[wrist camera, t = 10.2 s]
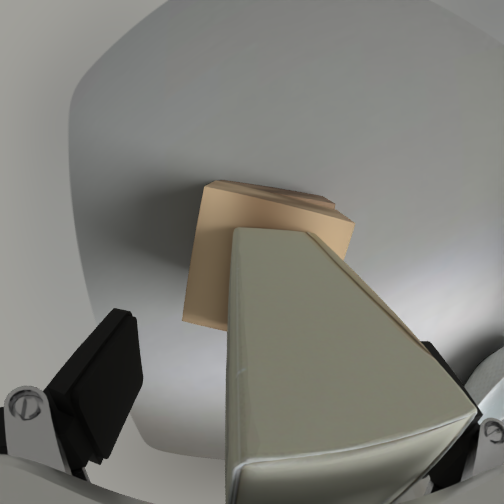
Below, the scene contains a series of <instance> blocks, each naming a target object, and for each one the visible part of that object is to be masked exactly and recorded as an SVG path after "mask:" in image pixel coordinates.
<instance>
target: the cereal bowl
mask: <svg viewBox="0 0 504 504" xmlns="http://www.w3.org/2000/svg"><path fill="white" fill-rule="evenodd" d="M464 387H465V389H466V390H467V392H468V393H469V394H470V396H471V397H472V399H473V400H474V402H475V403H476V405H477V406H478V408H479V409H480V411H481V412H482V414H483V416H482V417H481V418H480V420H479V421H478V423H479V425H480V424H481V423H482V422H483V420H484V419H487V418H496V419H498V420H500V421H501V420H502V419H504V347H502V348H501V349H499V350H498V351H496V352H495V353H493V354H491V355H490V356H488V357H487V358H486V359H484V360H483V361H482V362H481V363H480V364H479V365H478V367H477V368H476V369H475V370H474V372H473V373H472V374H471V376H470V378H469V380H468V382H467V383H466V384H465V386H464Z"/></svg>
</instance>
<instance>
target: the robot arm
mask: <svg viewBox="0 0 504 504" xmlns="http://www.w3.org/2000/svg"><path fill="white" fill-rule="evenodd" d="M420 342H421V343H422V344H423V345H424V346H425V347H426V349H427V350H428V351H429V352H430V353H431V354H432V356H433V357H434V358H435V359H436V360H437V362H438V363H439V364H440V365H441V366H442V367H443V368H444V369H445V370H446V372H447V373H448V374H449V375H450V376H451V378H452V379H453V380H454V381H455V382H456V383H457V385H458V386H459V387H460V388H461V389H462V390H463V392H464V393H465V394H466V396H467V397H468V398H469V400H470V401H471V402H472V403H473V405H474V406H475V407H476V408H477V415H476V416H475V417H474V419H473V420H472V421H471V423H470V424H469V425H468V427H467V428H466V429H465V431H464V432H463V434H462V435H461V436H460V437H459V438H458V439H457V440H456V442H455V443H454V444H453V445H452V446H451V447H450V449H449V450H448V451H447V452H446V453H445V454H444V455H443V457H442V458H441V459H440V460H439V461H438V462H437V463H436V465H435V466H433V467H432V468H431V469H430V470H429V471H428V472H427V473H426V475H425V476H423V477H422V479H421V480H420V481H419V482H417V483H416V484H415V485H414V486H413V487H412V488H411V489H410V490H409V491H408V492H407V493H405V494H404V495H403V496H402V497H401V498H400V499H398V500H397V501H396V502H394V504H504V424H503V423H502V422H501V421H500V420H498V419H496V418H487V419H484V420H483V422H482V423H481V424H480V425H479V423H478V421H479V420H480V418H481V417H482V416H483V414H482V412H481V411H480V409H479V408H478V406H477V405H476V403H475V402H474V400H473V399H472V397H471V396H470V394H469V393H468V392H467V390H466V389H465V387H464V386H463V385H462V383H461V382H460V380H459V379H458V378H457V376H456V375H455V374H454V372H453V371H452V370H451V368H450V367H449V365H448V364H447V363H446V362H445V360H444V359H443V358H442V356H441V355H440V354H439V352H438V351H437V350H436V349H435V347H434V346H433V345H432V343H430V342H428V341H420ZM142 383H143V372H142V365H141V357H140V348H139V339H138V328H137V319H136V317H133V316H132V313H131V312H130V311H126V310H121V309H117V308H114V309H113V310H112V311H111V312H110V313H109V314H108V315H107V316H106V317H105V318H104V320H103V321H102V322H101V323H100V324H99V325H98V326H97V327H96V329H95V330H94V331H93V332H92V333H91V334H90V335H89V337H88V338H87V339H86V340H85V341H84V342H83V343H82V344H81V346H80V347H79V348H78V349H77V350H76V351H75V352H74V354H73V355H72V356H71V357H70V359H69V360H68V361H67V362H66V363H65V365H64V366H63V367H62V368H61V369H60V371H59V372H58V373H57V374H56V376H55V377H54V378H53V379H52V381H51V382H50V383H49V385H48V386H47V387H46V388H45V389H44V391H42V390H40V389H38V388H37V387H33V386H21V387H18V388H16V389H14V390H12V391H11V392H10V393H9V394H8V395H7V397H6V399H5V403H4V407H0V504H153V503H149V502H146V501H142V500H138V499H135V498H131V497H128V496H125V495H122V494H119V493H116V492H113V491H110V490H108V489H104V488H102V487H99V486H97V485H94V484H92V483H91V482H90V480H89V477H88V475H87V473H86V470H85V467H86V465H87V463H88V461H92V462H94V463H97V464H99V465H101V463H102V460H103V458H104V459H108V458H109V456H110V454H111V452H112V450H113V447H114V445H115V443H116V441H117V438H118V436H119V434H120V432H121V429H122V427H123V425H124V423H125V421H126V418H127V416H128V414H129V412H130V410H131V408H132V406H133V403H134V401H135V399H136V397H137V395H138V393H139V391H140V389H141V387H142Z"/></svg>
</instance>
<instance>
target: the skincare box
mask: <svg viewBox="0 0 504 504" xmlns="http://www.w3.org/2000/svg"><path fill="white" fill-rule="evenodd" d="M476 415H477V408H476V407H475V406H474V405H473V403H472V402H471V401H470V400H469V398H468V397H467V396H466V394H465V393H464V392H463V390H462V389H461V388H460V387H459V386H458V385H457V383H456V382H455V381H454V380H453V379H452V378H451V376H450V375H449V374H448V373H447V372H446V370H445V369H444V368H443V367H442V366H441V365H440V364H439V363H438V362H437V360H436V359H435V358H434V357H433V356H432V354H431V353H430V352H429V351H428V350H427V349H426V347H425V346H424V345H423V344H422V343H421V342H420V341H419V339H418V338H417V337H416V336H415V335H414V334H413V333H412V331H411V330H410V329H409V328H408V327H407V326H406V325H405V324H404V323H403V322H402V321H401V319H400V318H399V317H398V316H397V315H396V314H395V313H394V312H393V311H392V310H391V309H390V308H389V307H388V306H387V305H386V304H385V303H384V301H382V300H381V299H380V297H379V296H378V295H377V294H376V293H375V292H374V291H373V290H372V289H371V288H370V287H369V286H368V285H367V284H366V283H365V282H364V281H363V280H362V279H361V278H360V277H359V276H358V275H357V274H356V273H355V272H354V271H353V270H352V269H351V268H350V267H349V266H348V265H347V264H346V263H345V262H344V261H343V260H342V259H341V258H340V257H339V256H338V255H337V254H336V253H335V252H334V251H333V250H332V249H331V248H330V247H329V246H327V244H326V243H325V242H323V241H322V240H321V239H320V238H319V237H318V236H317V235H316V234H315V233H309V232H299V231H289V230H276V229H262V228H245V227H238V228H235V229H234V232H233V241H232V252H231V264H230V279H229V297H228V325H227V363H226V420H225V484H226V485H225V488H226V504H394V502H396V501H397V500H398V499H400V498H401V497H402V496H403V495H404V494H405V493H407V492H408V491H409V490H410V489H411V488H412V487H413V486H414V485H415V484H416V483H417V482H419V481H420V480H421V479H422V477H423V476H425V475H426V473H427V472H428V471H429V470H430V469H431V468H432V467H433V466H435V465H436V463H437V462H438V461H439V460H440V459H441V458H442V457H443V455H444V454H445V453H446V452H447V451H448V450H449V449H450V447H451V446H452V445H453V444H454V443H455V442H456V440H457V439H458V438H459V437H460V436H461V435H462V434H463V432H464V431H465V429H466V428H467V427H468V425H469V424H470V423H471V421H472V420H473V419H474V417H475V416H476Z"/></svg>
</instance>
